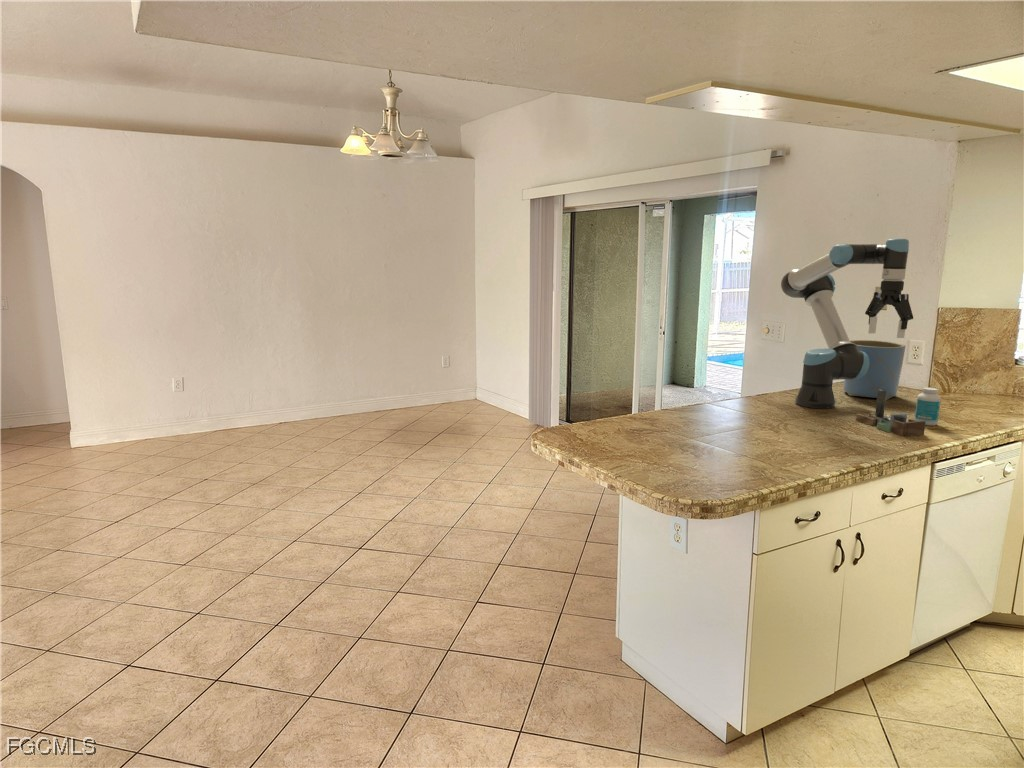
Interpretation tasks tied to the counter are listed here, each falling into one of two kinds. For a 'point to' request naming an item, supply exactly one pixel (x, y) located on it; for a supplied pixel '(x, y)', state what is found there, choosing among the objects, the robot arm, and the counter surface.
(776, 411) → the counter surface
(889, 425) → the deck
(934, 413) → the pill bottle
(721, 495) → the counter surface
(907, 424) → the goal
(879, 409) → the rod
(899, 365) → the planter
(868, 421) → the guide
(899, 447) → the counter surface
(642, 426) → the counter surface
